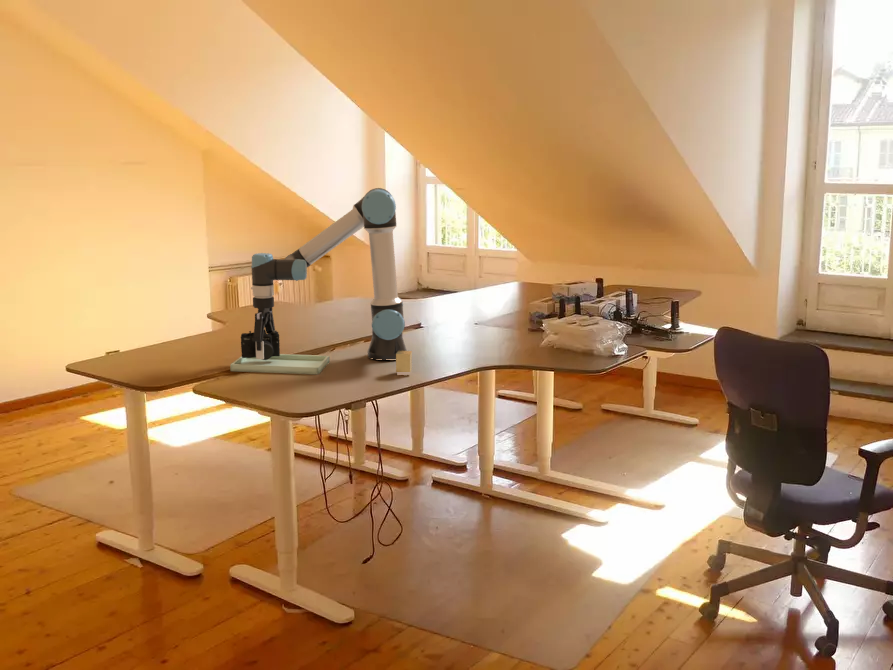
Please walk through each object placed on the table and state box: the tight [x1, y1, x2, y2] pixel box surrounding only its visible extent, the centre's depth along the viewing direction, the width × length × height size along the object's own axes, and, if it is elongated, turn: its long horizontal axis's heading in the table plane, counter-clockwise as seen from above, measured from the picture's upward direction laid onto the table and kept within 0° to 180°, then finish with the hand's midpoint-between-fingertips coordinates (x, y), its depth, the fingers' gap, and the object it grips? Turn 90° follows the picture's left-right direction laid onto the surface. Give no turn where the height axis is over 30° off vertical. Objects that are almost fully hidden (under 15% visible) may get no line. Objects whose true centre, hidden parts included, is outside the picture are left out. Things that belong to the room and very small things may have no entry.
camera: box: [240, 328, 281, 360], centre depth 322 cm, size 14×11×10 cm
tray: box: [230, 353, 331, 375], centre depth 323 cm, size 18×32×2 cm, turn 85°
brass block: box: [395, 350, 413, 373], centre depth 315 cm, size 5×5×8 cm
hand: (265, 355), depth 323 cm, fingers closed on camera, 11 cm apart
